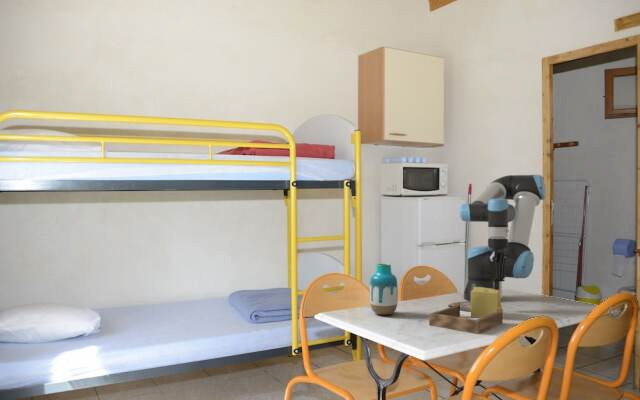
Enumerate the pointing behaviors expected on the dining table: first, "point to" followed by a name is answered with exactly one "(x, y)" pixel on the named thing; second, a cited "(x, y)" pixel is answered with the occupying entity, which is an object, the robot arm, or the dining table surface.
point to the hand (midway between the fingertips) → (497, 297)
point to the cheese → (484, 301)
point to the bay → (464, 320)
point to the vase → (383, 290)
